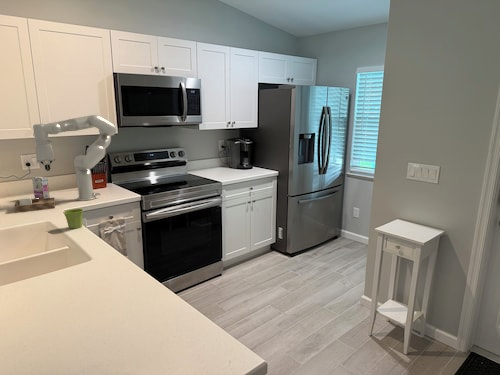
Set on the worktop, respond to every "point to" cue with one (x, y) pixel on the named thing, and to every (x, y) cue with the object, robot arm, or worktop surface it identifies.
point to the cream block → (25, 201)
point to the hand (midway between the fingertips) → (48, 170)
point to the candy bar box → (40, 187)
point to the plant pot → (74, 218)
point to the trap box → (35, 205)
